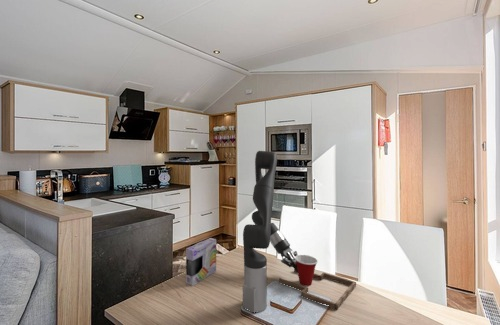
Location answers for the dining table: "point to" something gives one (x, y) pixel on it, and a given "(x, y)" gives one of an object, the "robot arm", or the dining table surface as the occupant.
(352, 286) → the T fence
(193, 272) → the cake pan box
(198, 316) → the dining table surface
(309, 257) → the plastic cup
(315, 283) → the dining table surface
